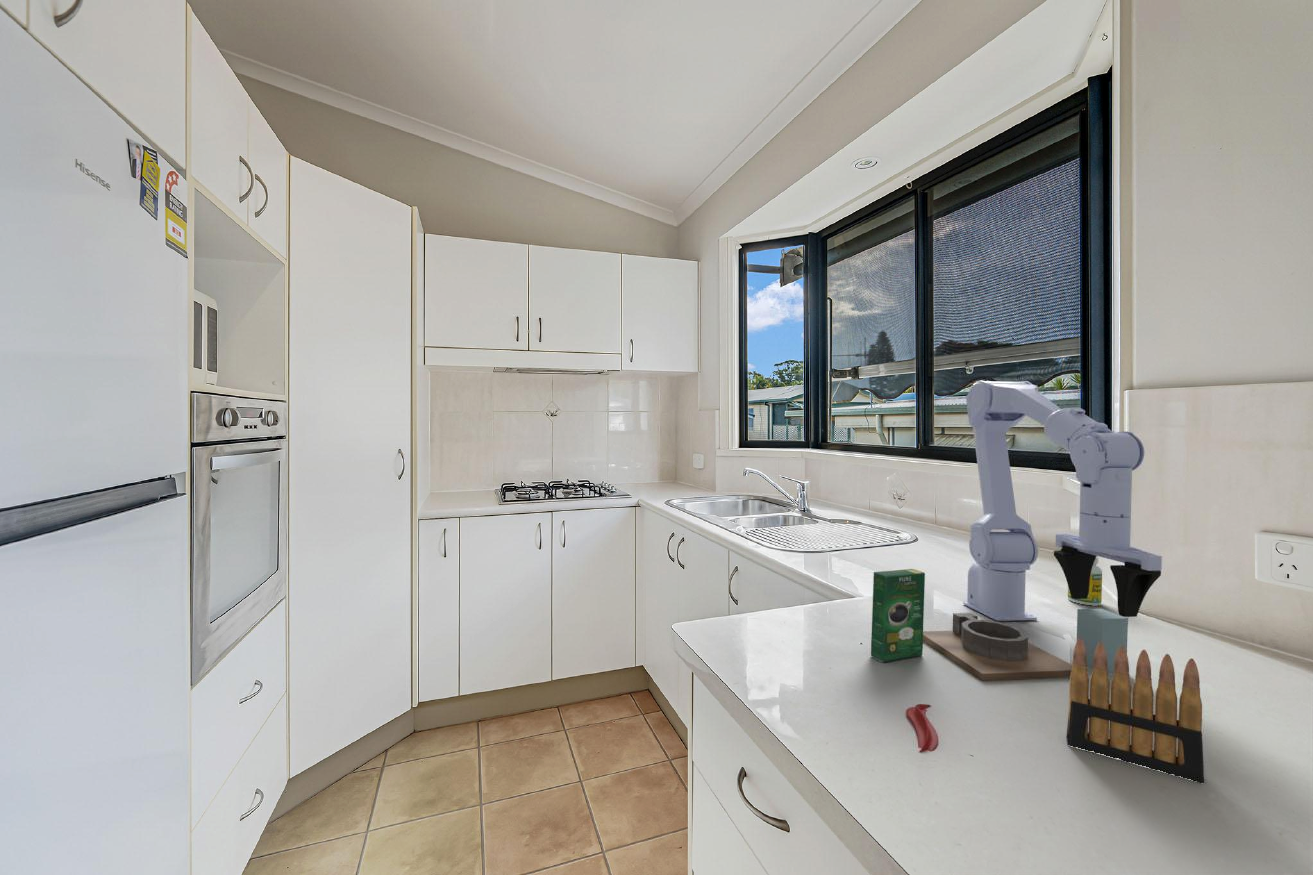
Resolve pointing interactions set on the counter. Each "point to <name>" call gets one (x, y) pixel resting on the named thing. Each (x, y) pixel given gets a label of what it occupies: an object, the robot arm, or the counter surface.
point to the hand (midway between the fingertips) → (1102, 606)
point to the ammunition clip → (1137, 713)
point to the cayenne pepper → (923, 727)
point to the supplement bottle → (1092, 587)
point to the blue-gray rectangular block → (1102, 633)
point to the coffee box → (897, 614)
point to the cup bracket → (995, 650)
